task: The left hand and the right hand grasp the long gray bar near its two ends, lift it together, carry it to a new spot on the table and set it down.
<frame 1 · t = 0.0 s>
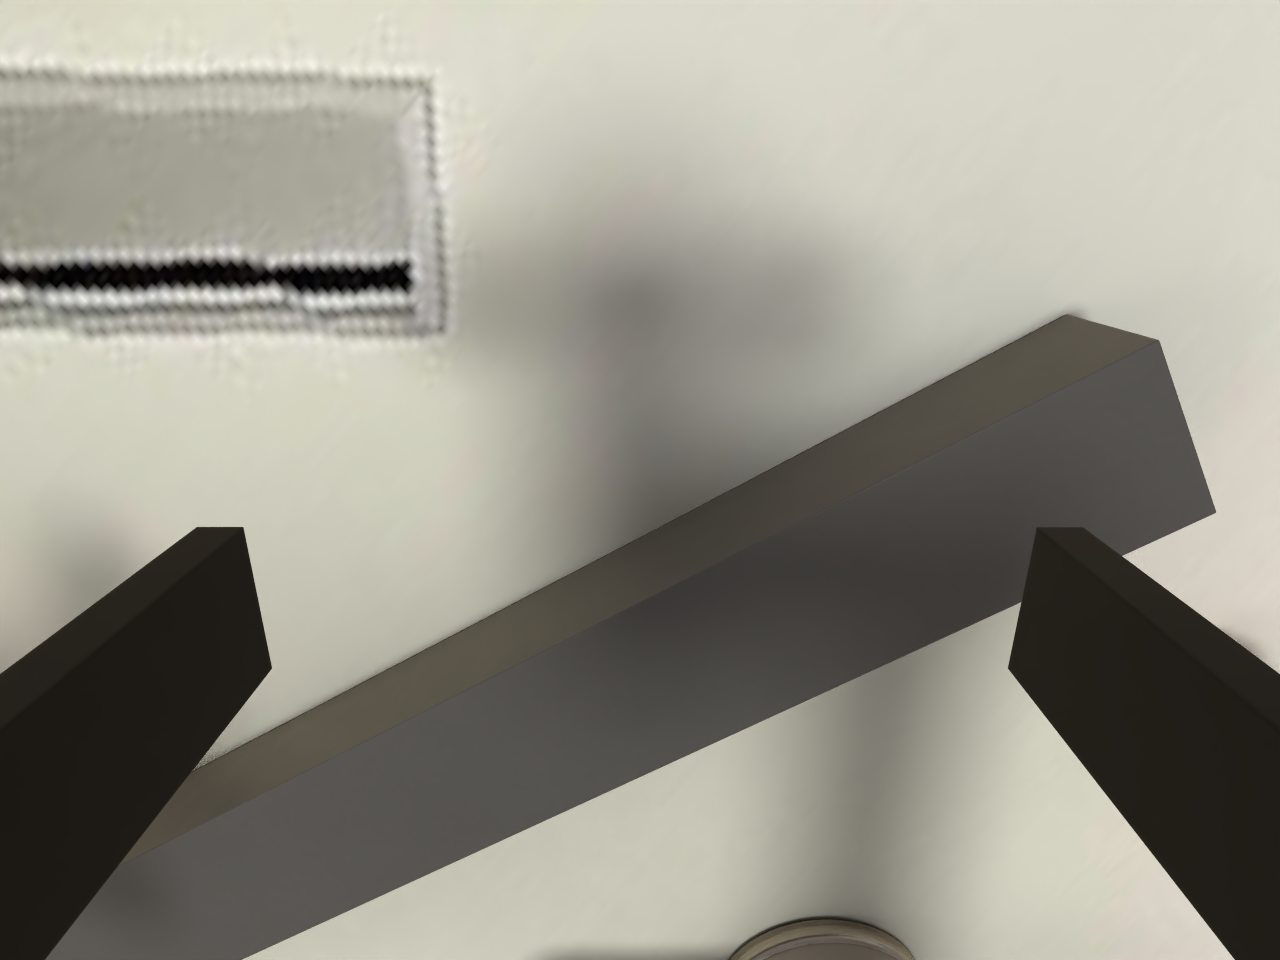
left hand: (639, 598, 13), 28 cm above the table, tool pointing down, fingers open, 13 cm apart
long gray bar: (527, 673, 46), on the table
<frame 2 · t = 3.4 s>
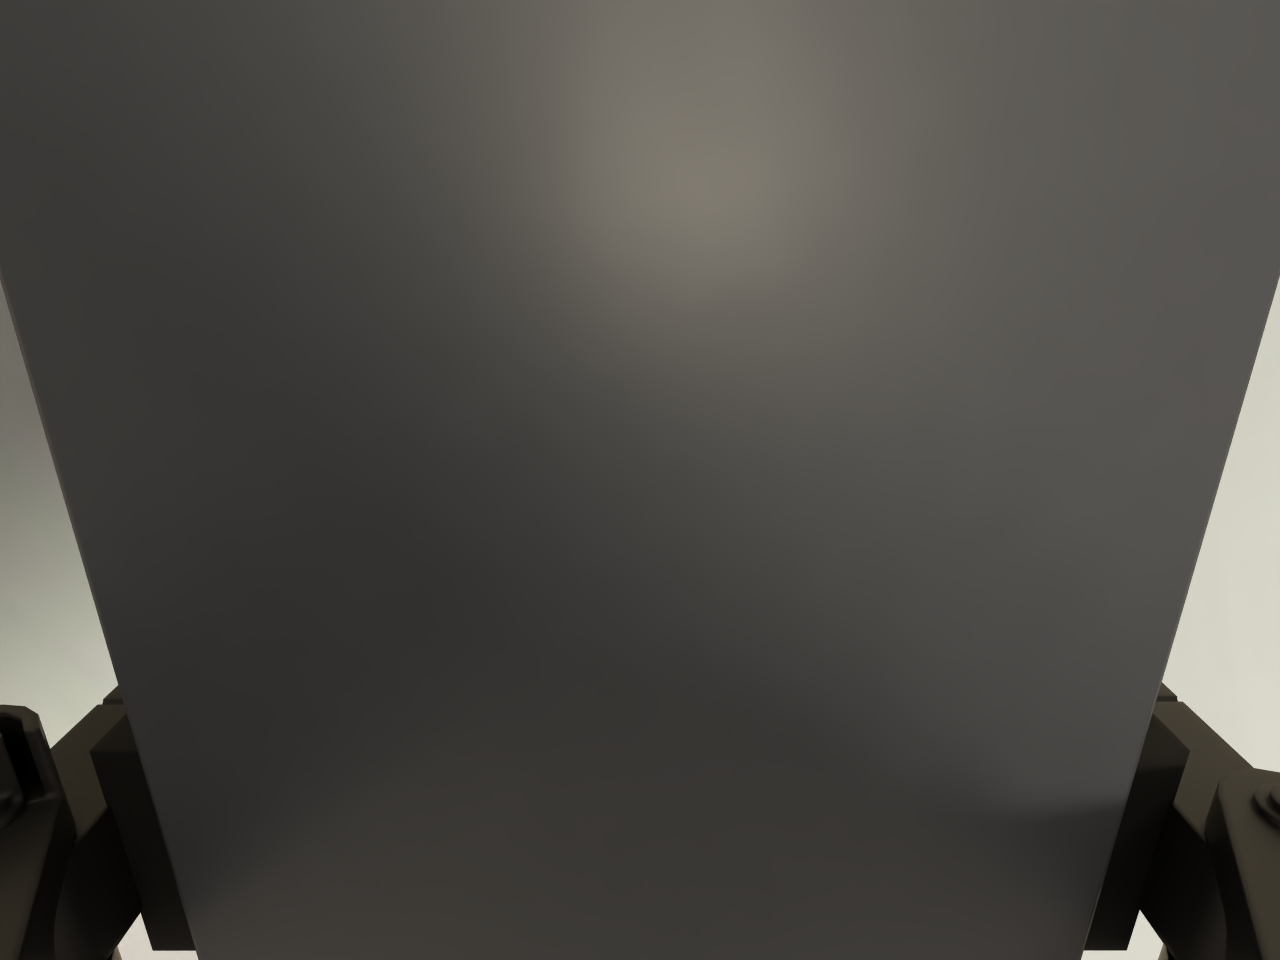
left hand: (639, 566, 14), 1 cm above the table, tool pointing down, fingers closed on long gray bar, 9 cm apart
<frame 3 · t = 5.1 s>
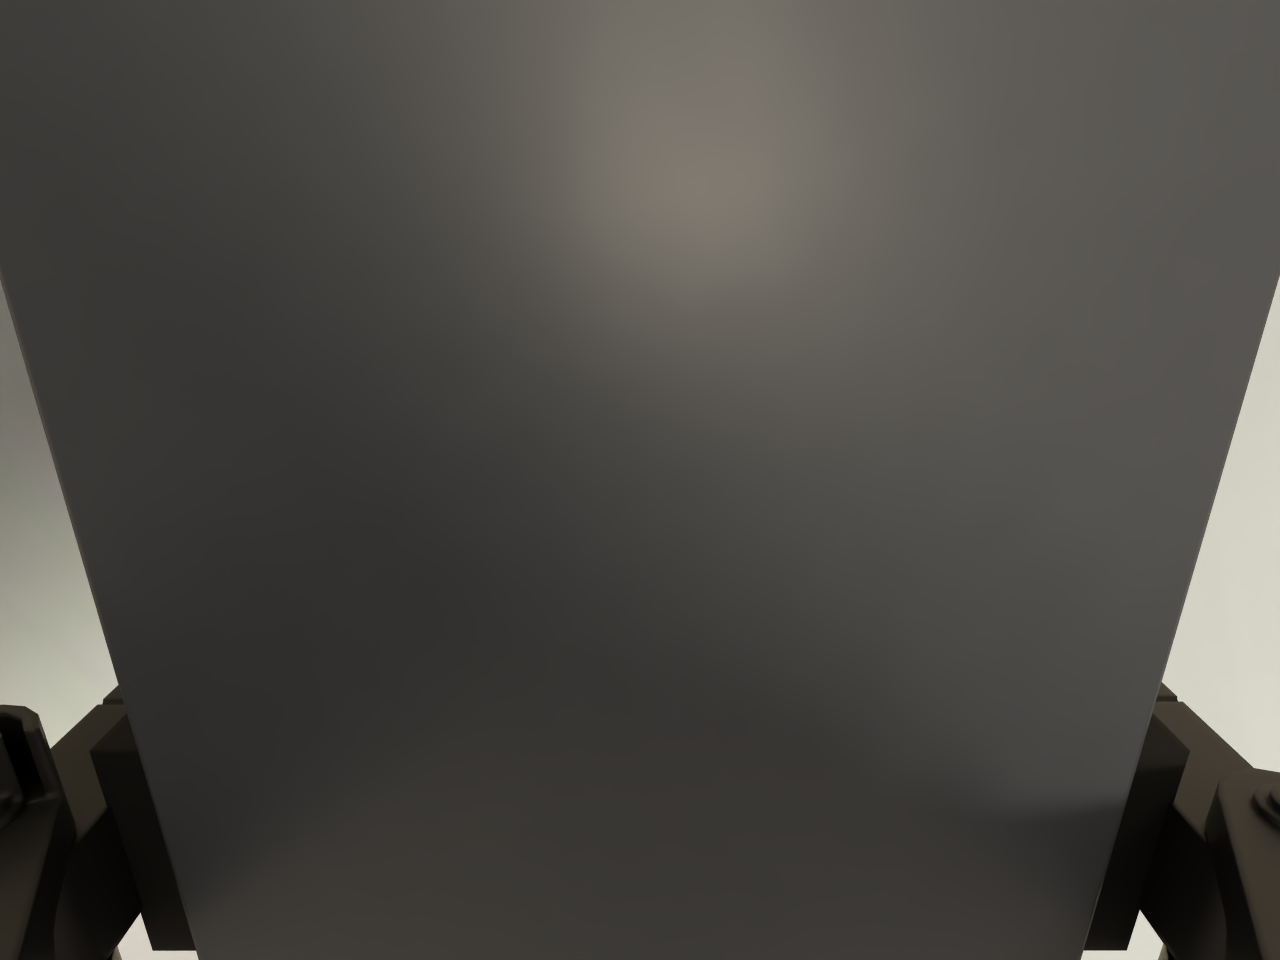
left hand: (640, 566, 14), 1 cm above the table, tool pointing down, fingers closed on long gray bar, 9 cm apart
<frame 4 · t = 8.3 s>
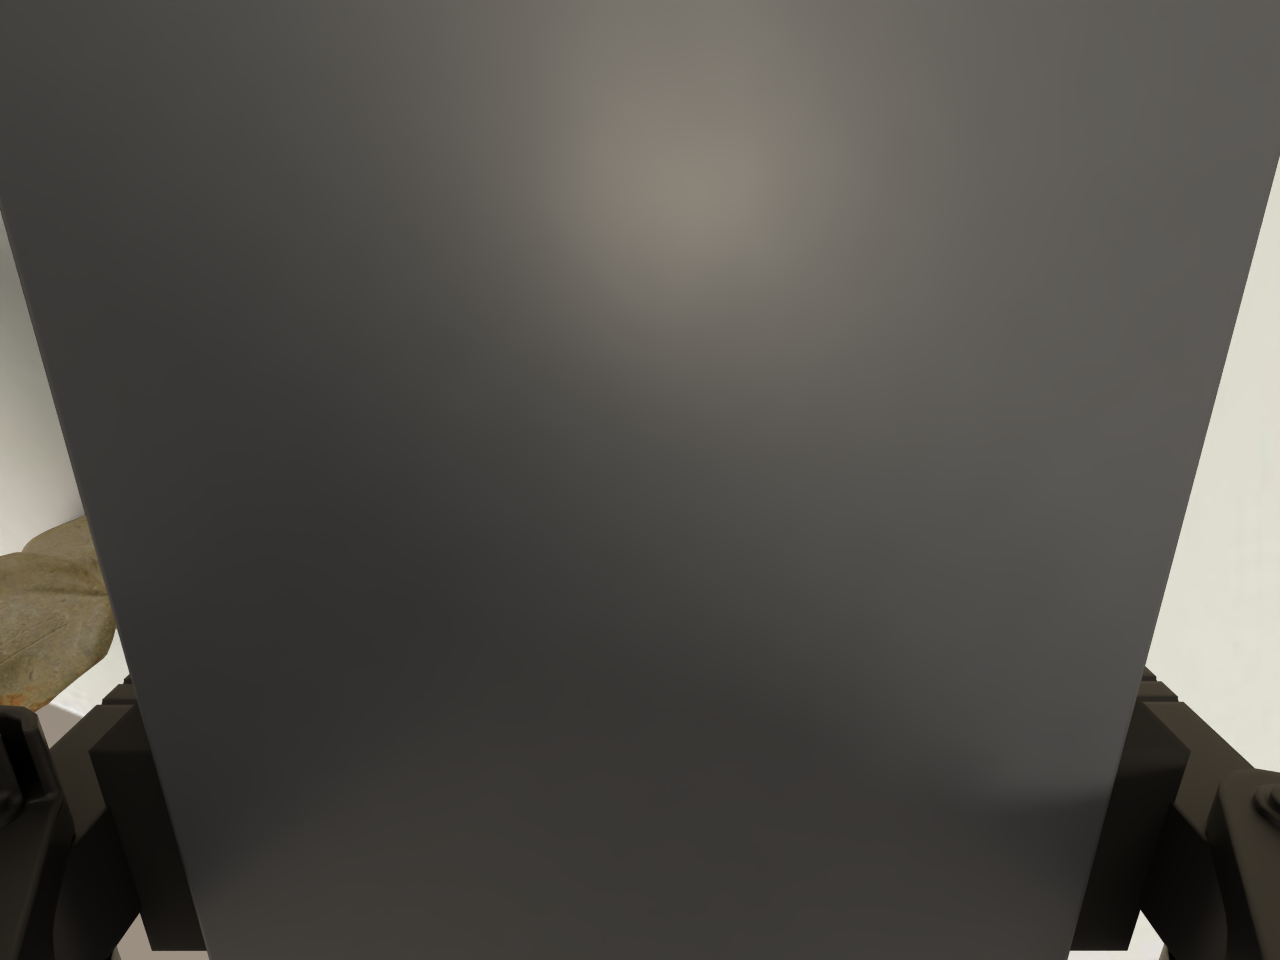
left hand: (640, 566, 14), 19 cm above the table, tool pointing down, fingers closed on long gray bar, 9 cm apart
sculpture: (142, 540, 35), on the table
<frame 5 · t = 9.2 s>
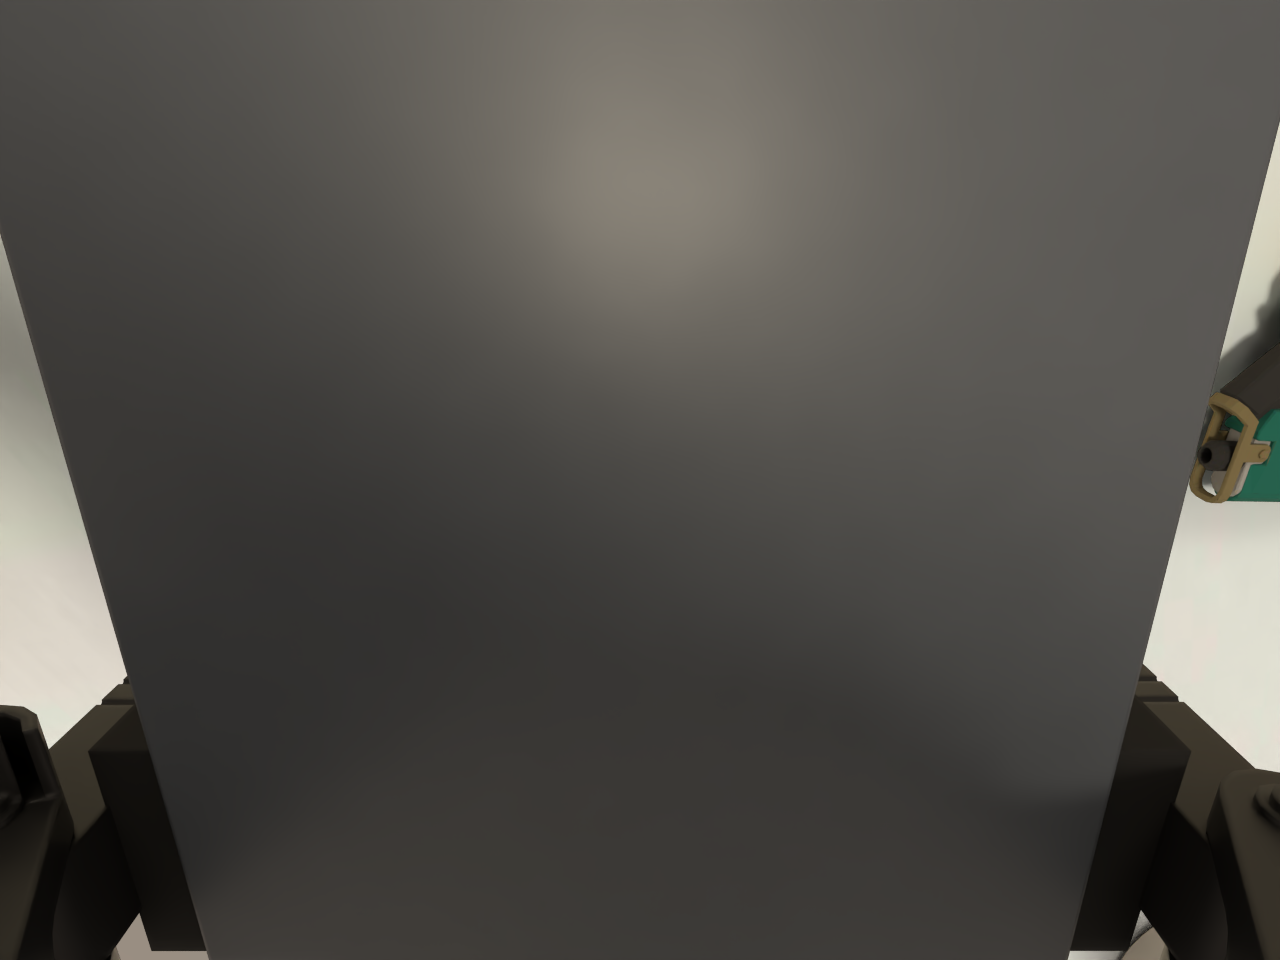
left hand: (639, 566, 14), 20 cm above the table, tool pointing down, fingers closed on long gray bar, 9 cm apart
bust sculpture: (1164, 951, 45), on the table
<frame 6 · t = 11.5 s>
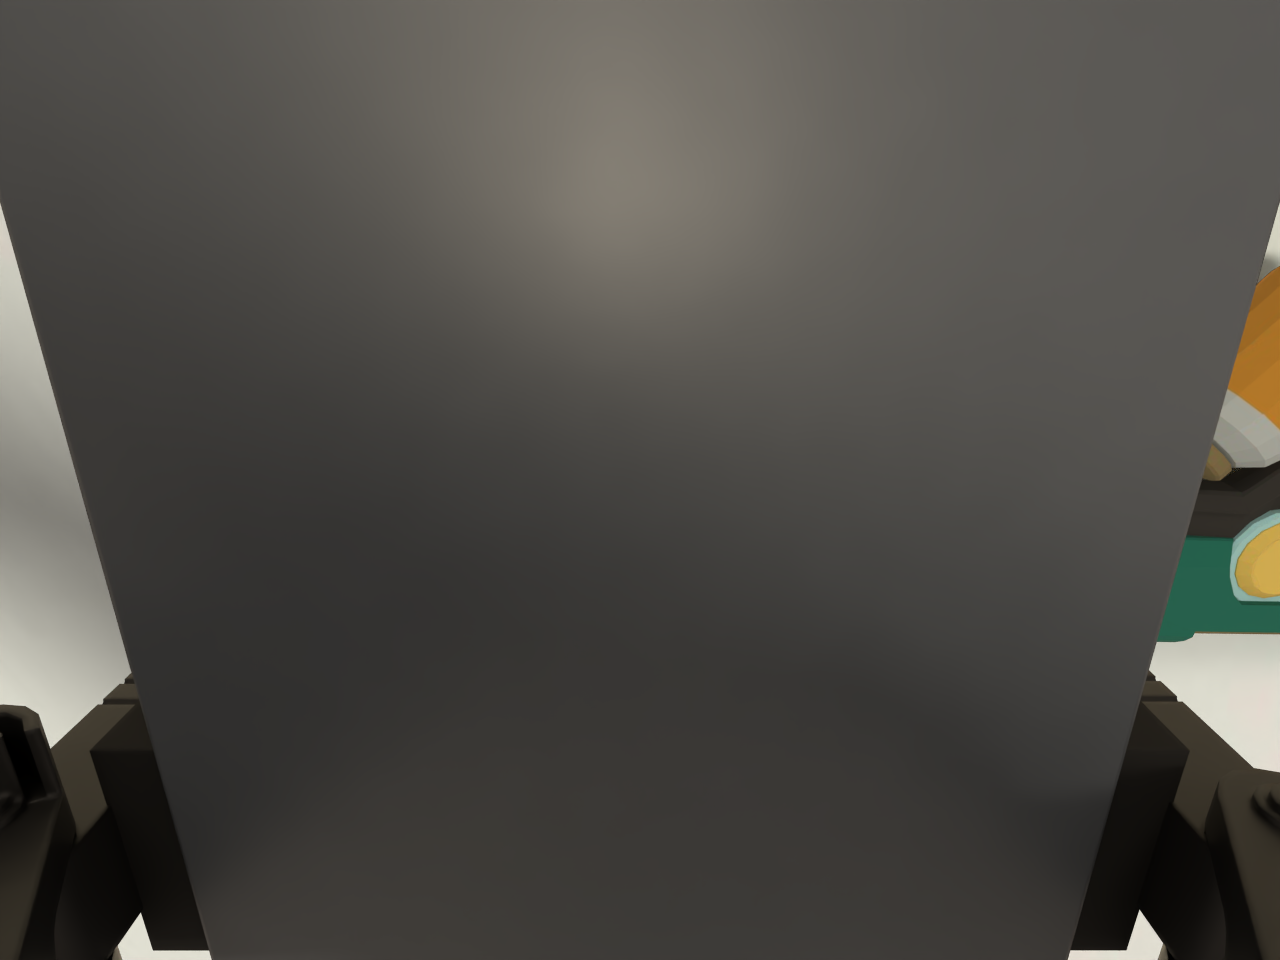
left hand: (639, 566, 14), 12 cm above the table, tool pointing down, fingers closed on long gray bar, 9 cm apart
when the left hand's fingers open (2 cm above the table, at t = 13.5 s): long gray bar drops 1 cm, on the table.
when the right hand's fingers open (2 cm above the table, at t = 13.5 s): long gray bar drops 1 cm, on the table.
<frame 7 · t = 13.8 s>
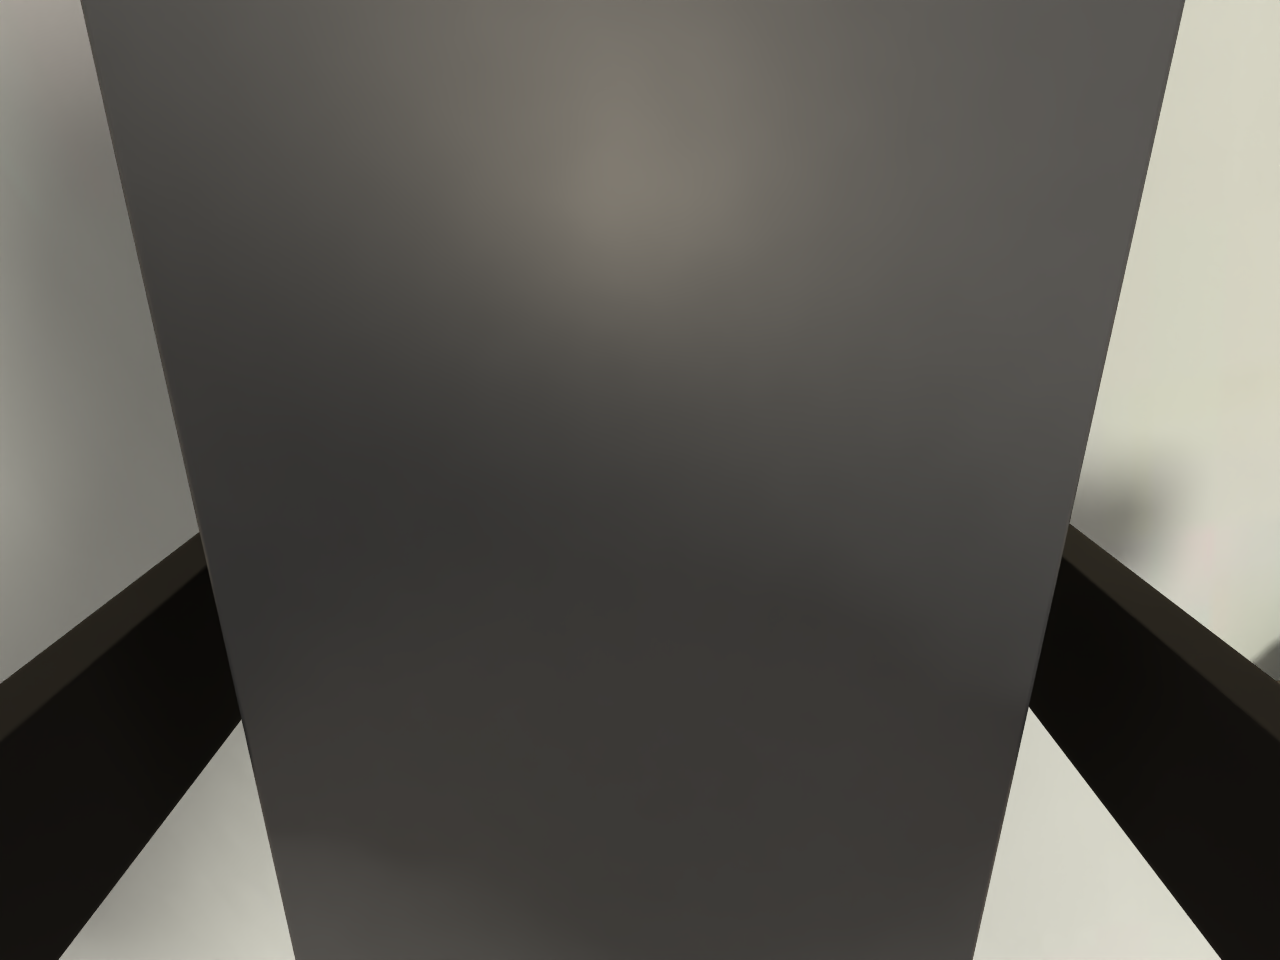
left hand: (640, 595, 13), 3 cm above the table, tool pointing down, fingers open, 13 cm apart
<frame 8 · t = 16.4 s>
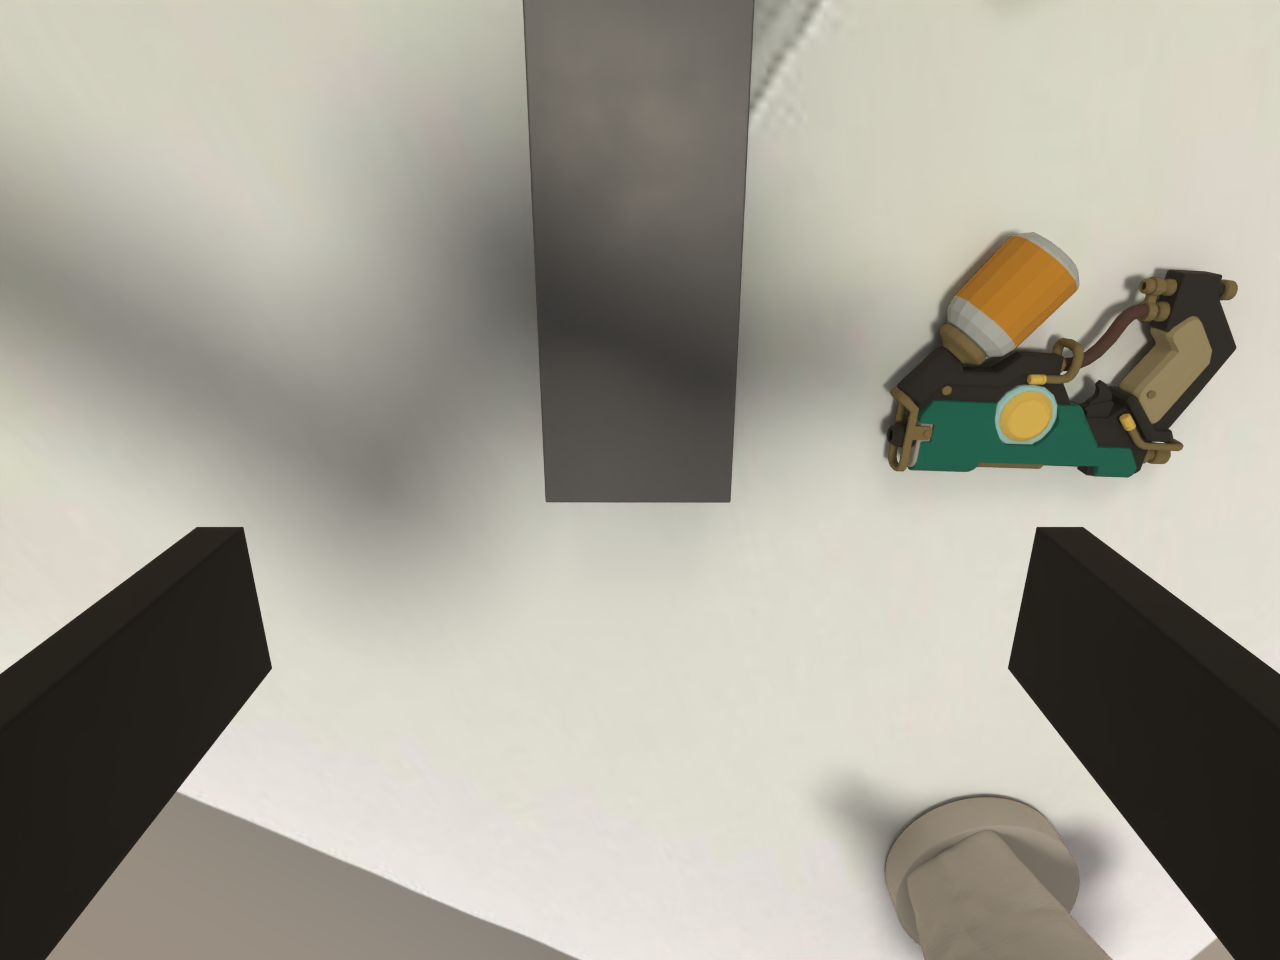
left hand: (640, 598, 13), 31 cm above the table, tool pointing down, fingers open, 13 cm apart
spray gun: (1041, 372, 42), on the table
bust sculpture: (925, 845, 55), on the table
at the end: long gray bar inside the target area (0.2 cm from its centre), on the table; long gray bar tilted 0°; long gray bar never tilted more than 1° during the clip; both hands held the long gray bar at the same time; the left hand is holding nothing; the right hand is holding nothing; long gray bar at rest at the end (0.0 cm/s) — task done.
